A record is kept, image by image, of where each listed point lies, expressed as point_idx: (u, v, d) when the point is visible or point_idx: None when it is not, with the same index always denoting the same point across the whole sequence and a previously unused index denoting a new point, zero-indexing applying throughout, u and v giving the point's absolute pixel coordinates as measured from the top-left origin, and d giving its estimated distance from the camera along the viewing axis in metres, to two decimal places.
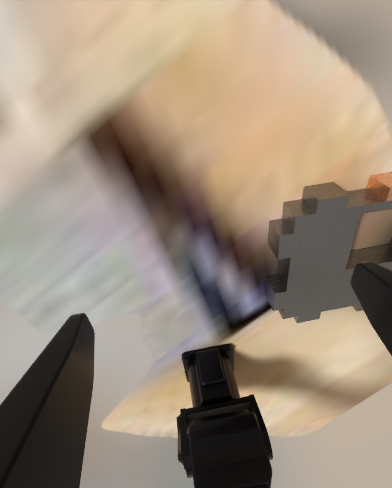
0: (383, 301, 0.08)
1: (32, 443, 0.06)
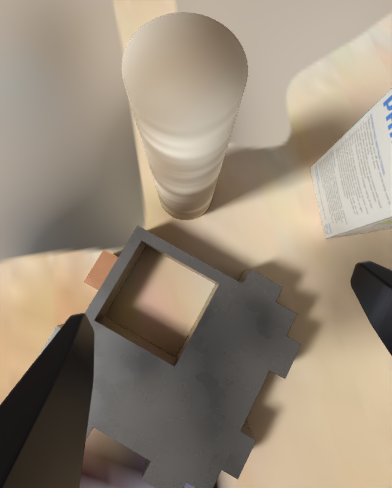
0: (383, 301, 0.08)
1: (32, 443, 0.06)
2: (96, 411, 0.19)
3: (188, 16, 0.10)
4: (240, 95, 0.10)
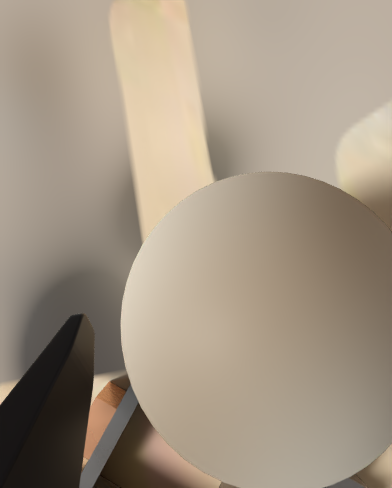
0: None
1: (32, 443, 0.06)
2: None
3: (277, 182, 0.04)
4: None
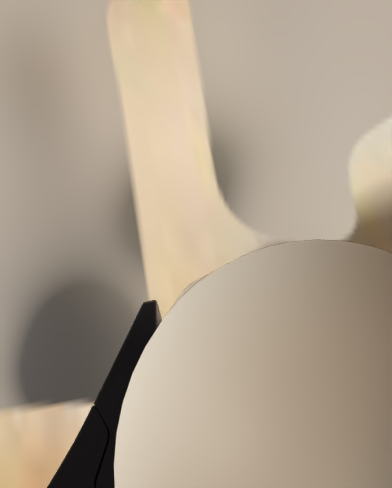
0: None
1: None
2: None
3: (330, 254, 0.03)
4: None
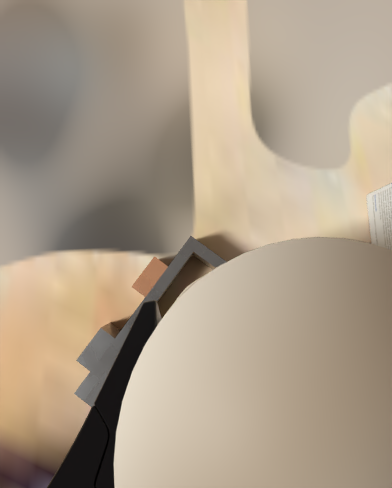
0: None
1: None
2: None
3: (331, 252, 0.03)
4: None
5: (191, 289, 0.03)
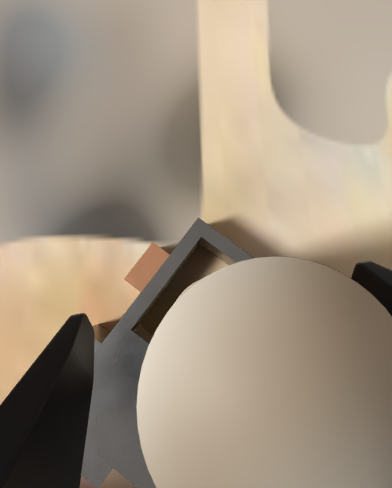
0: (383, 301, 0.08)
1: (32, 443, 0.06)
2: (120, 448, 0.15)
3: (282, 266, 0.05)
4: None
5: (187, 292, 0.04)
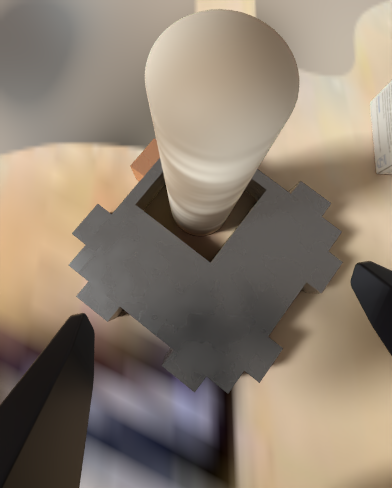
0: (383, 301, 0.08)
1: (32, 443, 0.06)
2: (125, 292, 0.18)
3: (226, 14, 0.08)
4: (290, 113, 0.08)
5: None
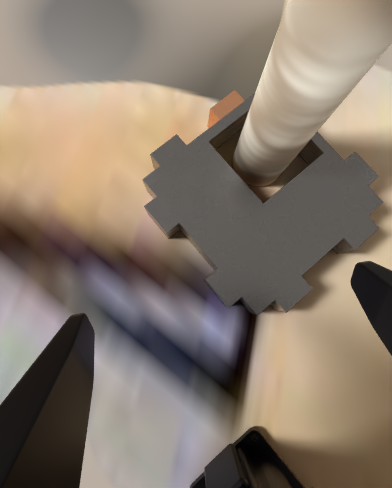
0: (383, 301, 0.08)
1: (32, 443, 0.06)
2: (186, 212, 0.21)
3: None
4: None
5: None
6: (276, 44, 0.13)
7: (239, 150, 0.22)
